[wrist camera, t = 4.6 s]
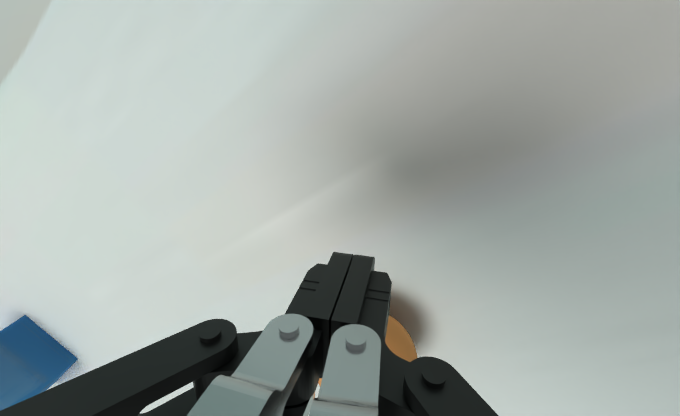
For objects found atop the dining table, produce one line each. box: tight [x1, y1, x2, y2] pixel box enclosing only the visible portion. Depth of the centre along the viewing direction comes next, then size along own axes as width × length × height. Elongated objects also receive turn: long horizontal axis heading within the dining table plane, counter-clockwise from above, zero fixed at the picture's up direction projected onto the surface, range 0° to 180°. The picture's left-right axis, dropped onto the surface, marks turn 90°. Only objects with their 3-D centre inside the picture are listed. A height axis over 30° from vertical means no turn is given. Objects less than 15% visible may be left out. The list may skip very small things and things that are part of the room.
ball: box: [318, 315, 417, 386], centre depth 21 cm, size 6×6×6 cm
